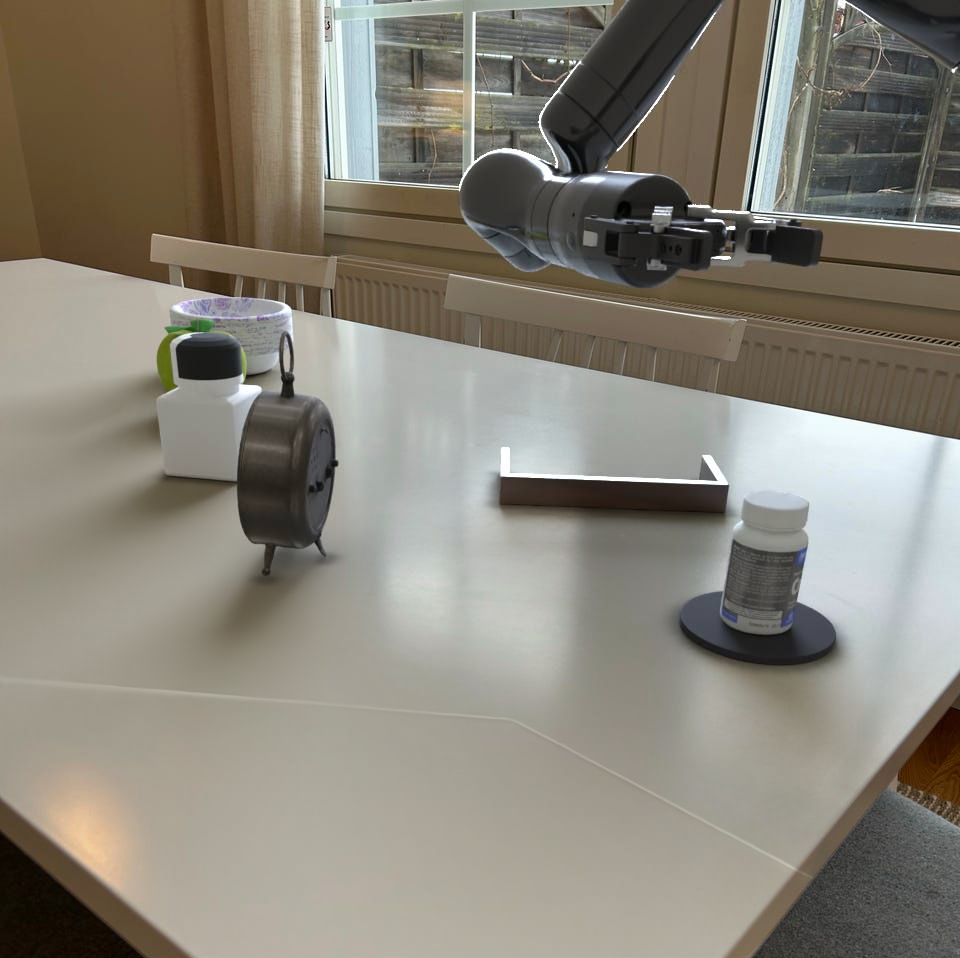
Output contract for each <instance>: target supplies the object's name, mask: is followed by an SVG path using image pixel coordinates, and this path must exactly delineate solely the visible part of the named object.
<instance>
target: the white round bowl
mask: <svg viewBox="0 0 960 958" xmlns="http://www.w3.org/2000/svg"><path fill="white" fill-rule="evenodd" d="M292 313H293V311H292V308H291V307H290V306H289V305H288V304H286V303H284V302H281V301H276V300H271V299H265V298H255V297H237V296H235V297H234V296H232V297H231V296H230V297H206V298H196V299H189V300H184V301H180V302H177V303H174V304H173V305H171V307H170V308H169V319H170V326H184V327H192V325H191V324H190V321H191V320H196V319H208V320H212V321H214V326H213V328H212V329H210V330H212V331H217V332H219V331H221V332H227V333H229V334H231V335H232V336H233V337H234V338H236V339H237V340H238V341H239V342H240V344H241V347H242V349H243V351H244V354H245V357H246V364H247V368H246V376H251V375H257V374H262V373H265V372H269V371H270V370H272V369H273V368H274V367H275V366H276V365H277V364H278V362H279V343H280V338H281V334H282V332H283V331H287V332H289V334H290V336H291V339H292V343H293V344H294V332H293V327H294V326H293V318H292ZM286 350H289V345H288V340H287V338H286V337H285V341H284V351H286Z"/></svg>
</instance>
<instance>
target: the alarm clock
mask: <svg viewBox="0 0 960 958" xmlns="http://www.w3.org/2000/svg"><path fill="white" fill-rule="evenodd" d="M285 337H286V338H287V340H288V345H289V348H288V352H289V370H288V371H286V370H285V364H284V363H285V362H284V351H285V350H284V341H285ZM294 352H295V351H294V342H293V343H292V339H291V336H290V334H289V332H287V331H283V332H282V334H281V338H280V343H279V358H278V363H279V367H280V368H279V369H280V380H281V383H282V384H281V390H280V391H274V390H269V389H265V390H262V392H261V393H260V394H259V395H258V396H257V397H256V398H255V400H254V401H253V403H252V405H251V407H250V409H249V412H248V414H247V417H246V420H245V423H244V427H243V430H242V431H243V432H242V435H241V441H240V448H239V456H238V466H237V481H236V499H237V511H238V517H239V523H240V527H241V528H242V531H243V534H244V535H245V537H246V538H247V540H248V541H249V542H250V543H251V544H253V545H265V546H264V547H265V548H264V553H263V554H264V555H263V562H264V563H263V568H261V569H262V570H261V574H262V576H264V577H265V576H266V577H268V576H269V575H271V571H272V570H271V566H272V562H273V560H274V556H275V552H276V549H277V547H280V548H288V549H296V550H303V549H307V548H309V547H310V546H311V545H313V544H315V546H316V547H317V549H318V551H319V553H320V554H321V555H322V556H323V557H327V552H326V550H325V549H324V546H323V543H322V540H321V538H322V535H323V529H324V528H325V525H326V522H327V519H328V515H329V512H330V509H331V504H332V498H333V493H334V492H333V491H334V486H335V485H334V484H335V477H336V468H337V467H339V460H338V459H337V457H336V456H337V455H336V454H337V450H336V449H337V448H336V447H337V445H336V434H335V433H336V432H335V427H334V426H335V425H334V421H333V417H332V415H331V411H330V410H329V407H328V406H327V405H326V403H325V402H324V401H323V400H321V398H320V397H317V396H315V395H308V394H302V393H301V394H299V393H295V388H294V387H295V386H294V382H295V381H296V379H295V378H296V377H295V374H293V373H294V368H295V353H294Z"/></svg>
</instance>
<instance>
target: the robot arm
mask: <svg viewBox="0 0 960 958" xmlns="http://www.w3.org/2000/svg"><path fill="white" fill-rule="evenodd" d="M725 1H726V0H626V1H625V2H624V3H623V5H622V6H621V7H620V9H619V10H618V11H617V12H616V14H615V15H614V16H613V18H612V19H611V21H610V22H609V23H608V24H607V26H606V27H605V28H604V29H603V31H602V32H600V33H601V34H599V36H598V37H597V39H596V40H595V41H594V42H593V44H592V45H591V46H590V47H589V49H588V50H587V51H586V53H585V54H584V55H583V57H582V58H581V59H580V60H579V61H578V63H577V64H576V66H575V67H574V68H573V70H571V72H570V74H569V75H568V76H567V78H565V80H564V81H563V83H562V84H561V85H560V87H559V88H558V90H557V91H555V93H554V94H553V96H552V97H551V98H550V100H549V101H548V102H547V103H546V104H545V107H544V108H543V110H542V111H541V113H540V115H539V121H538V123H539V128H540V131H541V133H542V135H543V137H544V139H545V140H546V142H547V145H549V147H550V148H551V150H552V153H553V155H554V157H555V161H556V163H555V164H556V165H553V164H552V163H549V162H547V161H546V160H543V159H540V158H538V157H536V156H534V155H532V154H529V153H527V152H524V151H521V150H517V149H512V148H502V149H497V150H493V151H490V152H487V153H486V154H484V155H482V156H480V157H479V158H477V160H475V161H474V162H473V163H472V164H471V165H470V166H469V167H468V168H467V170H466V172H464V175H463V177H462V178H461V181H460V184H459V188H458V193H457V194H458V195H457V202H458V208H459V212H460V214H461V215H460V216H461V217H462V219H463V221H464V222H465V223H466V224H467V226H468V227H469V228H470V229H471V230H472V231H474V232H475V233H476V234H477V235H478V236H479V237H480V238H481V239H483V240H484V241H485V243H487V244H488V245H489V246H490V247H492V248H493V249H494V250H495V252H497V253H498V254H499V255H501V257H502V258H504V260H506V261H507V262H508V263H509V264H510V265H511V266H513V267H514V268H516V269H517V270H519V271H520V272H523V273H535V272H538V271H541V270H543V269H546V268H547V267H549V266H550V265H553V266H556V267H561V268H565V269H570V270H574V271H576V272H577V273H579V274H582V275H583V276H585V277H590V278H593V279H597V280H600V281H601V280H602V281H605V282H609V283H614V284H618V285H622V286H627V287H631V288H634V289H635V288H636V289H642V290H646V289H647V290H648V289H654V288H656V287H659V286H662V285H664V284H665V283H667V282H669V281H670V280H671V279H673V277H675V276H676V275H677V274H678V273H679V271H680V270H681V269H683V270H687V271H693V272H706V271H707V270H709V268H710V266H711V267H722V268H723V267H724V268H741V267H744V266H746V265H747V264H748V263H749V261H750V262H765V263H768V265H769V264H770V265H777V263H778V264H784V265H791V266H797V267H803V268H807V267H808V268H813V267H816V266H817V265H818V264H819V262H820V258H821V253H822V249H823V248H822V247H823V241H824V233H823V231H822V230H821V229H820V228H812V227H803V221H800V220H798V219H797V218H789V219H780V218H770V217H762V216H754V214H753V213H752V212H750V211H735V210H733V211H732V210H717V209H714V208H713V207H712V206H710V205H696V204H695V205H694V204H693V202H692V200H691V197H690V196H689V193H688V192H687V191H686V189H685V188H684V187H683V186H682V185H681V184H680V183H679V182H677V181H676V180H675V179H673V178H671V177H670V176H666V175H663V174H653V173H639V172H627V171H625V172H624V171H611V170H607V171H605V170H606V168H607V167H608V165H609V163H610V162H611V160H612V159H613V158H614V157H615V156H616V154H617V153H618V151H619V150H621V148H622V147H623V145H624V144H625V143H626V142H627V141H628V140H629V139H630V137H631V136H632V135H633V133H634V132H635V131H636V129H637V128H638V127H639V126H640V124H641V123H642V122H643V121H644V120H645V118H646V117H647V116H648V114H649V113H650V112H651V110H652V109H653V108H654V106H655V105H656V104H657V103H658V101H659V100H660V98H661V97H662V95H663V94H664V92H665V91H666V90H667V88H668V87H669V85H670V83H671V81H672V80H673V79H674V77H675V76H676V74H677V73H678V71H679V70H680V68H681V66H682V65H683V63H684V62H685V60H686V59H687V57H688V56H689V54H690V52H691V50H692V49H693V47H694V46H695V45H696V43H697V41H698V40H699V38H700V37H701V35H702V33H703V32H704V31H705V29H706V27H708V25H709V24H710V22H711V20H712V19H713V17H714V15H715V14H717V12H718V10H720V8H721V6H722V5H723V4H724V2H725ZM842 1H843V2H844V3H847V4H848V5H849V6H852V7H853V8H855V9H857V10H858V11H860V12H861V13H863V14H864V15H866V16H867V17H868V18H870V19H871V20H872V21H874V22H875V23H877V24H878V25H879V26H881V27H882V28H884V29H886V30H887V31H888V32H890V33H892V34H893V35H894V36H896V37H898V38H900V40H903V41H904V42H906V43H908V44H909V45H910V46H912V47H914V48H915V49H917V50H918V51H920V52H923V53H924V54H925V55H927V56H928V57H930V58H931V59H933V60H934V61H935V62H937V63H938V64H940V65H941V66H943V67H944V68H946V69H947V70H948V71H951V72H952V73H954V74H956V75H957V76H959V77H960V0H842ZM724 221H732V222H734V223H733V226H729V227H727V225H726V224H725V222H724ZM726 243H727V244H728V243H730V244H731V245H730V253H733V254H732V256H731V257H730V256H721V255H722V254H723V253H724V252H725V250H726V245H727V244H726Z"/></svg>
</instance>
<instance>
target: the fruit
mask: <svg viewBox="0 0 960 958" xmlns="http://www.w3.org/2000/svg"><path fill="white" fill-rule="evenodd" d="M190 324H191V325H192V327H184V326H171V325H168V326H164V330H165V331H166V333H167V335H165V336H164V338H163V339H162V340H161V342H160V343H159V345H158V347H157V348H158V349H157V350H156V366H157V373H158V376H159V380H160V383H161V385H162V388H163V389H164V392H166V393H168V392H170V391H172V390H174V389H176V388H178V385H176V384H174V379H173V370H172V361H171V351H170V343H171V342H172V340H174V339H175V338H177V337H179V336H181V335H184V334H189V333H199V332H213V333H223V334H227V335H230V336H232V335H231V334H229V333H227V332H221V331H219V332H217V331H212V330H210V329H212V328H213V326H214V321H212V320H208V319H196V320H191V321H190ZM232 337H233V336H232ZM241 355H242V368H243V380H244V381H243V382H242V383H241V385H244V382H245V380H246V376H247V375H246V368H247V364H246V357H245V354H244V351H243V349H242V347H241Z"/></svg>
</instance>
